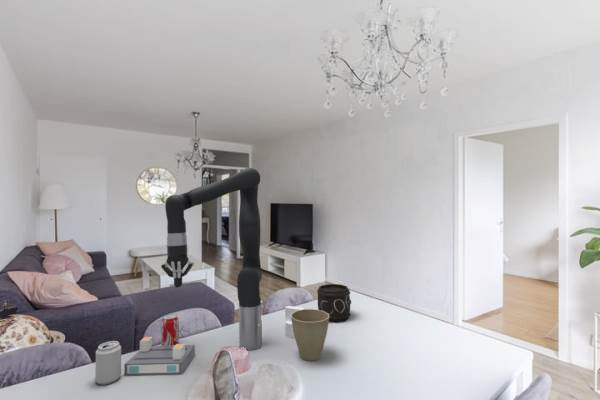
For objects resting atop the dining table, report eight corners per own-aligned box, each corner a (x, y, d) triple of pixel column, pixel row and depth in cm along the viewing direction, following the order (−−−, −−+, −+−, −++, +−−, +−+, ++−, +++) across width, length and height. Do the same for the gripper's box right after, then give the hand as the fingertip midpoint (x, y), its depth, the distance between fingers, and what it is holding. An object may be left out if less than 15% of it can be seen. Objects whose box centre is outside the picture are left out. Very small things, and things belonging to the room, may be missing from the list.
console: (194, 355, 121) (194, 344, 122) (181, 374, 107) (181, 362, 107) (144, 356, 121) (144, 346, 121) (123, 375, 107) (124, 364, 107)
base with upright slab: (282, 336, 138) (281, 309, 139) (290, 329, 146) (289, 304, 147) (300, 339, 135) (300, 311, 135) (307, 331, 143) (307, 305, 144)
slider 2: (184, 354, 113) (184, 343, 113) (181, 359, 109) (181, 347, 109) (176, 355, 113) (176, 343, 113) (172, 359, 109) (172, 347, 109)
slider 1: (152, 347, 119) (152, 336, 120) (147, 351, 116) (147, 340, 116) (144, 347, 119) (144, 336, 120) (139, 351, 116) (139, 340, 116)
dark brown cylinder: (354, 323, 153) (353, 291, 153) (318, 323, 153) (318, 292, 154) (349, 311, 171) (348, 283, 171) (317, 311, 171) (316, 283, 172)
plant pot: (302, 370, 109) (302, 324, 109) (285, 353, 122) (284, 312, 122) (337, 360, 116) (336, 317, 116) (317, 345, 129) (316, 306, 129)
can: (103, 374, 108) (103, 340, 108) (125, 373, 108) (125, 339, 109) (90, 386, 100) (90, 349, 101) (114, 385, 101) (114, 348, 101)
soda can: (172, 348, 127) (172, 319, 128) (157, 347, 129) (157, 318, 129) (182, 341, 134) (182, 314, 135) (167, 340, 136) (167, 313, 136)
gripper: (196, 242, 128) (197, 284, 128) (164, 243, 128) (165, 285, 127) (190, 244, 121) (191, 288, 120) (156, 245, 120) (157, 290, 120)
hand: (178, 286), depth 124 cm, fingers closed
